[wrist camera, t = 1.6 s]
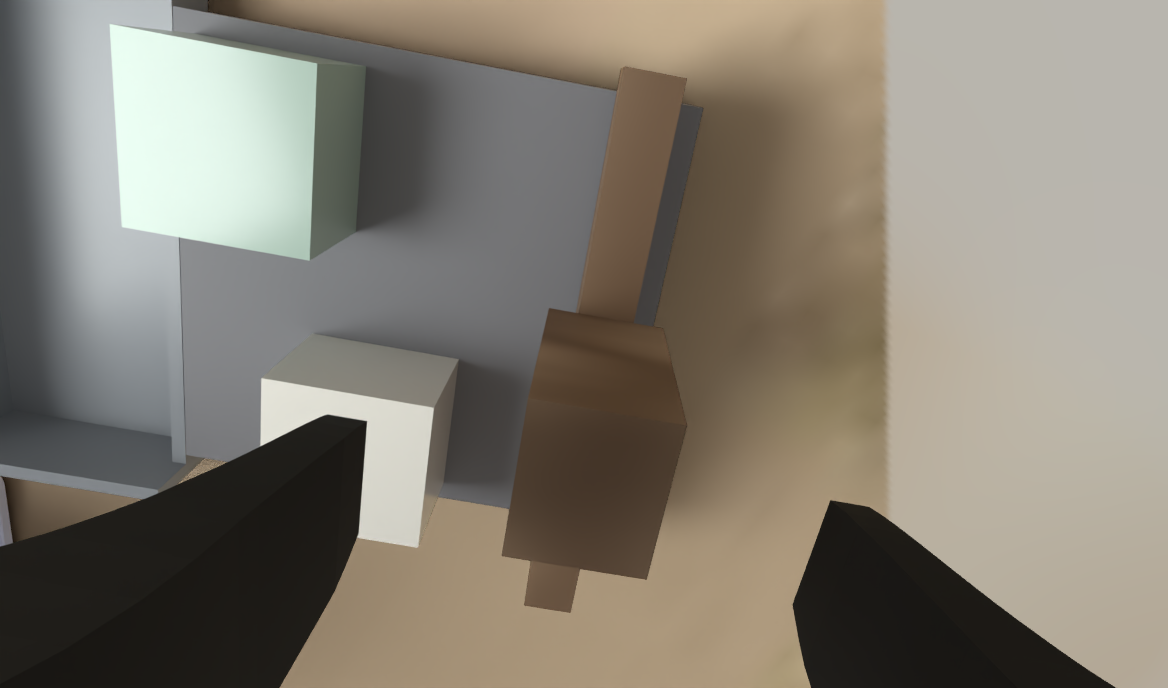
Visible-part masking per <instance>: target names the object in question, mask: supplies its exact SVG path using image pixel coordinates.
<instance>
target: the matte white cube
mask: <svg viewBox="0 0 1168 688" xmlns="http://www.w3.org/2000/svg"><path fill="white" fill-rule="evenodd" d="M458 362H459V359H455V358H449V357H444V356H438V355H432V354H427V353H421V352H415V351H409V350H404V349H398V348H392V347H387V346H381V345H375V344H369V343H364V342H358V341H352V340H346V339H341V338H335V337H329V336H324V335H318V334H311V335H310V336H309V337H308V338H307V339H305V340H304V341H303V342H302V343H301V344H300V345H299V346H297V347H296V348H295V349H294V350H293V351H292V352H291V353H289V354H288V355H287V356H286V357H285V358H284V359H283V360H281V361H280V362H279V363H278V364H277V365H276V366H275V367H273V368H272V369H271V370H270V371H269V372H268V373H267V374H265V375H264V376H263V377H262V378H261V440H260V446H262V445H264V444H266V443H268V442H270V441H272V440H274V439H276V438H278V437H280V436H282V435H284V434H286V433H288V432H290V431H292V430H294V429H296V428H298V427H300V426H302V425H304V424H306V423H308V422H310V421H312V420H315V419H317V418H319V417H322V416H324V415H327V414H329V415H334V416H340V417H346V418H352V419H358V420H364V421H367V431H366V444H365V457H364V470H363V483H362V496H361V510H360V523H359V534H358V536H357V538H361V539H367V540H373V541H380V542H386V543H392V544H398V545H404V546H410V547H416V548H418V547H419V544H420V541H421V539H422V536H423V534H424V531H425V529H426V526H427V524H428V521H429V519H430V516H431V513H432V511H433V508H434V506H435V503H436V501H437V498H438V496H439V493H440V491H441V488H442V485H443V482H444V474H445V466H446V458H447V450H448V442H449V434H450V426H451V418H452V410H453V402H454V394H455V386H456V378H457V370H458Z"/></svg>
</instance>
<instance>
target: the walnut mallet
mask: <svg viewBox="0 0 1168 688" xmlns="http://www.w3.org/2000/svg"><path fill="white" fill-rule="evenodd" d="M686 81H687V78H681V77H676V76H671V75H666V74H661V73H656V72H651V71H645V70H640V69H635V68H630V67H623V68H622V69H621V71H620V77H619V82H618V87H617V93H616V98H615V104H614V109H613V114H612V120H611V125H610V131H609V136H608V141H607V147H606V152H605V158H604V163H603V168H602V174H601V179H600V185H599V190H598V195H597V201H596V206H595V212H594V217H593V222H592V228H591V233H590V239H589V244H588V249H587V255H586V260H585V266H584V271H583V276H582V282H581V287H580V292H579V298H578V303H577V309H576V313H574V312H569V311H563V310H558V309H552V308H549V310H548V314H547V319H546V323H545V327H544V331H543V336H542V340H541V344H540V349H539V353H538V357H537V362H536V366H535V370H534V374H533V379H532V383H531V387H530V392H529V396H528V401H527V407H526V413H525V419H524V425H523V431H522V437H521V443H520V449H519V455H518V461H517V467H516V473H515V479H514V485H513V491H512V497H511V503H510V509H509V515H508V521H507V527H506V533H505V539H504V545H503V551H502V556H505V557H511V558H517V559H523V560H529V561H531V563H530V569H529V576H528V583H527V590H526V596H525V603H524V605H525V606H531V607H537V608H543V609H550V610H556V611H562V612H568V613H570V612H571V608H572V603H573V599H574V594H575V589H576V585H577V580H578V576H579V571H580V569H584V570H590V571H596V572H602V573H609V574H615V575H621V576H627V577H633V578H639V579H645V580H647V576H648V572H649V568H650V565H651V561H652V557H653V553H654V549H655V546H656V542H657V538H658V534H659V530H660V527H661V523H662V519H663V515H664V511H665V508H666V504H667V500H668V496H669V492H670V489H671V485H672V481H673V477H674V473H675V469H676V466H677V462H678V458H679V454H680V450H681V447H682V443H683V439H684V435H685V431H686V428H687V424H686V419H685V415H684V411H683V407H682V403H681V399H680V395H679V391H678V387H677V383H676V379H675V375H674V371H673V366H672V362H671V358H670V354H669V350H668V346H667V342H666V338H665V334H664V330H663V328H658V327H653V326H647V325H641V324H636V323H634V319H635V315H636V310H637V305H638V301H639V296H640V292H641V287H642V282H643V278H644V273H645V269H646V264H647V260H648V255H649V250H650V246H651V241H652V237H653V232H654V227H655V223H656V218H657V214H658V209H659V205H660V200H661V195H662V191H663V186H664V182H665V177H666V173H667V168H668V163H669V159H670V154H671V150H672V145H673V140H674V136H675V131H676V127H677V122H678V118H679V113H680V108H681V104H682V99H683V95H684V90H685V85H686Z"/></svg>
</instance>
